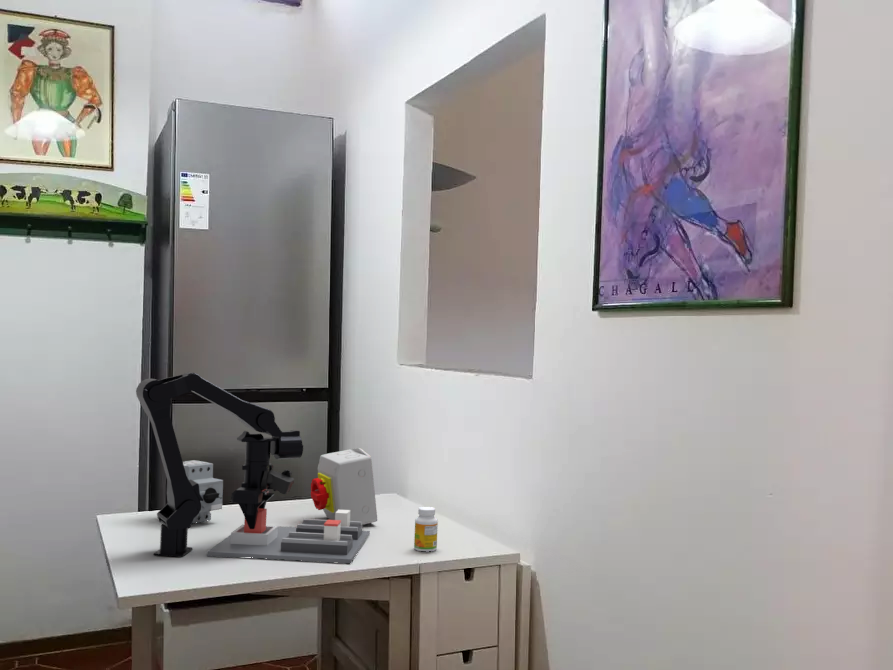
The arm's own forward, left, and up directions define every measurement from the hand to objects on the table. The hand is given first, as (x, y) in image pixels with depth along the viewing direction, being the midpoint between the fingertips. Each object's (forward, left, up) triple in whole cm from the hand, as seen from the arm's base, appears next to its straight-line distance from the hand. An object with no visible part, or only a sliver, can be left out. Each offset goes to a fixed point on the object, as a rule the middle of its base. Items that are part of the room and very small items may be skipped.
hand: (254, 526), depth 190 cm
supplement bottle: (+4, -40, -4) cm, 40 cm away
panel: (+2, -9, -4) cm, 10 cm away
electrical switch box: (+27, -15, -4) cm, 31 cm away
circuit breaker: (+19, +21, -4) cm, 29 cm away
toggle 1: (-5, -19, -1) cm, 20 cm away
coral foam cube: (0, 0, -1) cm, 1 cm away
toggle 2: (+9, -19, -1) cm, 21 cm away
